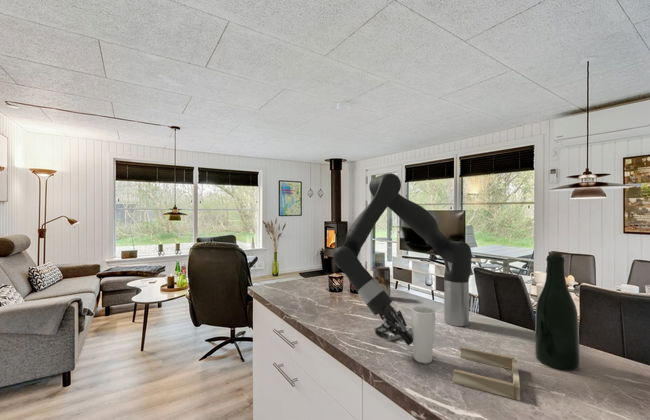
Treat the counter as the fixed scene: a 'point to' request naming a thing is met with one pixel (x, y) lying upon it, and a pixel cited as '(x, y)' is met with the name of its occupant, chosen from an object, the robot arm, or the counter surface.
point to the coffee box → (382, 278)
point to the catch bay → (484, 382)
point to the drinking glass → (423, 333)
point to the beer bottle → (556, 319)
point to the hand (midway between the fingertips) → (411, 342)
